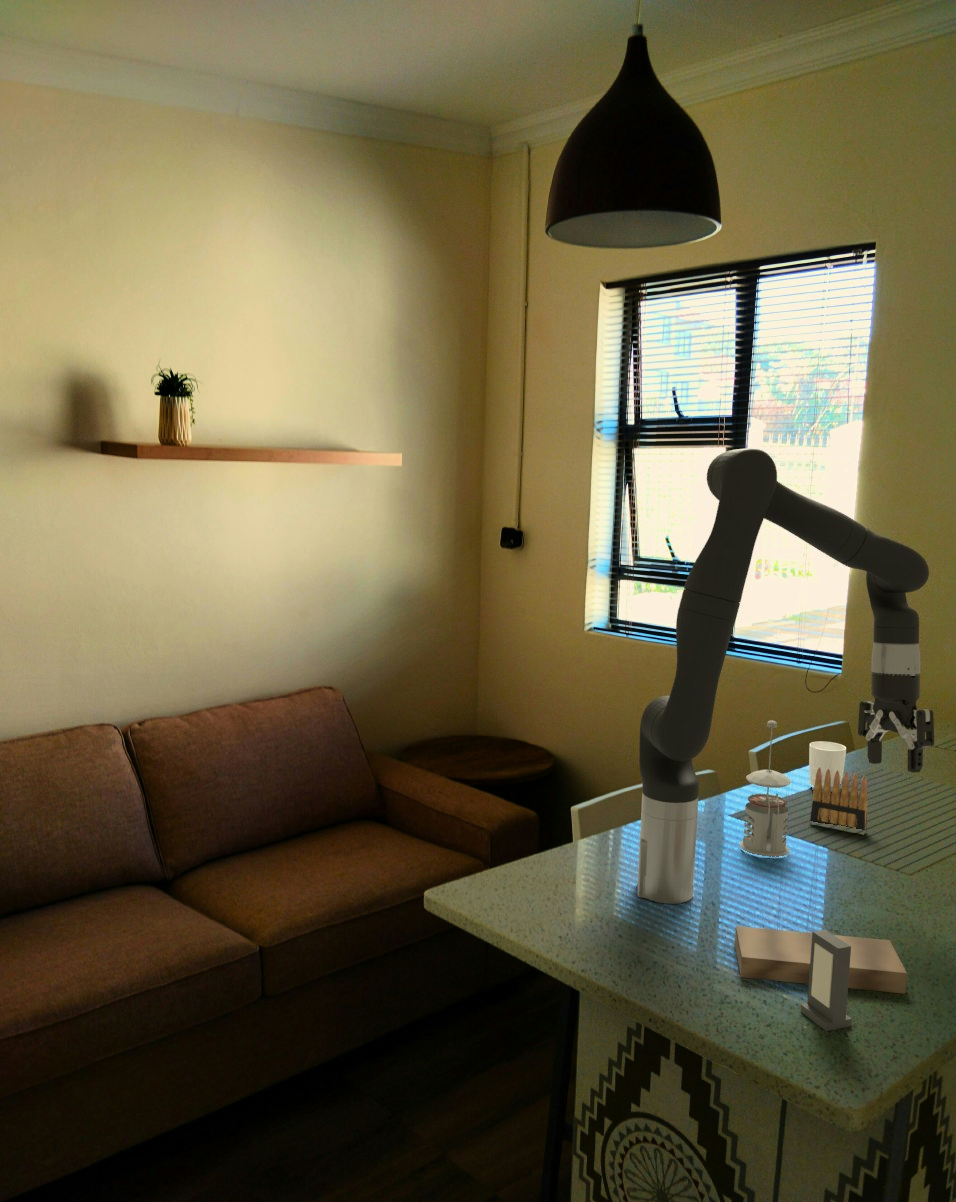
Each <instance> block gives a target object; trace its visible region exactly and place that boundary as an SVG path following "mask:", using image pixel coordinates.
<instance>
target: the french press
mask: <svg viewBox="0 0 956 1202" xmlns="http://www.w3.org/2000/svg"><path fill="white" fill-rule="evenodd" d="M766 728H770V740H769V741H770V743H769V759H768V769H760V770H754V771H752V772H751V773H749V774H747V775H746V777H745V778H746V781H747V782H748V783H750V784H752V785H754V786H758V787H762V788H767V790H766V791H767V792H766V793H754V794H750V795H749V796H747V800H748V801H749V802H747V803H746V804H745V808H744V823H743V825H744V826H743V827H745V828H747V829H745V828H743V833H744V834H746V835H743V838H742V839H743V840H741V841H740V842H739V843H740V847H741V848H742V849H743V850H745V851H747V852H749V853H752V854H757V855H762V856H769V857H771V856H772V857H775V856H776V857H779V856H784V855H787V854H789V853H790V852H789V849H790V848H789V847H788V846H787V836H788V835H787V834H788V833H787V831H788V822H789V821H788V816H789V808H788V807H787V806H786V805H787V804H788V801H787V800H786V799H785V798H784V797H781V796H779V794H778V793H775V795H774V794H769V790H770V789H776V788H778V789H780V788H785V787H787V786H789V785H790V784H791V783H792V780H791V779H790V778H789V777H787V776H786V775H785V774H783V773H781V772H779V771H776V770H773V769H771V758H772V757H771V756H772V744H773V743H772V742H773V741H772V739H773V729H775V728H778V723H777V721H775V720H773V719H772V720H768V721H767V723H766ZM769 788H770V789H769ZM745 814H746V815H748V816H746V815H745ZM745 821H747V822H748V823H747V822H745Z"/></svg>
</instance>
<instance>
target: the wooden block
mask: <svg viewBox="0 0 956 1202" xmlns="http://www.w3.org/2000/svg"><path fill="white" fill-rule="evenodd" d="M833 935H834V936H836V937H837V938H839V939H840V940H842V941H844V942H845V943H847V944H848V945H850V946H851V955H850V969H849V982H848V989H855V990H865V991H875V992H886V993H896V994H906V990H907V989H906V987H907V977H908V972H907V971H906V969H905V966H904V964H903V962H902V961H901V959H900V957H899V955H898V953H897V951H896V949H895V947H894V946H893V944H892V942H891V940H890V939H880V938H871V937H870V938H869V937H860V936H859V937H858V936H846V935H838V934H837V935H836V934H833ZM811 945H812V932H808V931H807V932H805V931H793V930H785V929H783V930H782V929H775V928H761V927H750V926H742V925H741V926H740V925H736V926H735V935H734V947H735V953H736V958H737V959H736V960H737V965H738V970H739V974H740V977H741V978H746V979H747V978H748V979H755V980H756V979H757V980H764V981H777V982H785V983H786V982H787V983H795V984H796V983H797V984H807V985H809V974H810V959H811Z"/></svg>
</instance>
